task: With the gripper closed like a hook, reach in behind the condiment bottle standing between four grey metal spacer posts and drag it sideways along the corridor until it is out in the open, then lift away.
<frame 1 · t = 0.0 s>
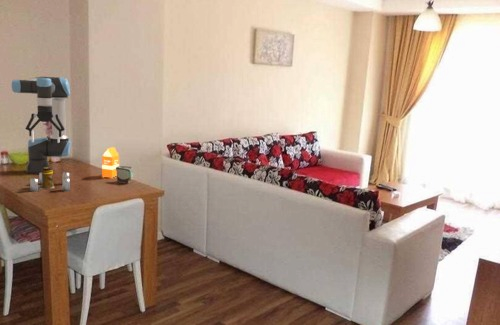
hand: (45, 142, 246), 28 cm above the table, fingers open, 13 cm apart
spacer c: (66, 183, 266), on the table
spacer a: (43, 184, 262), on the table
spacer d: (66, 190, 251), on the table
condiment: (46, 187, 255), on the table
retro television: (125, 182, 280), on the table
orange juice: (110, 176, 292), on the table
spacer b: (34, 190, 246), on the table
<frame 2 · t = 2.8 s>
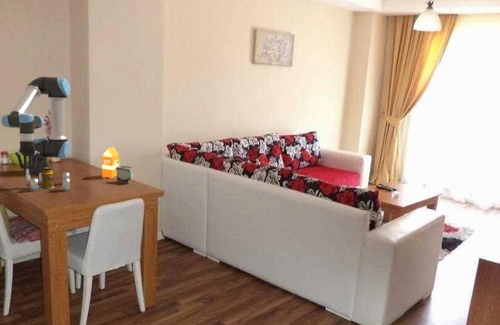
hand: (28, 179, 251), 5 cm above the table, fingers closed
nothing on the table moved.
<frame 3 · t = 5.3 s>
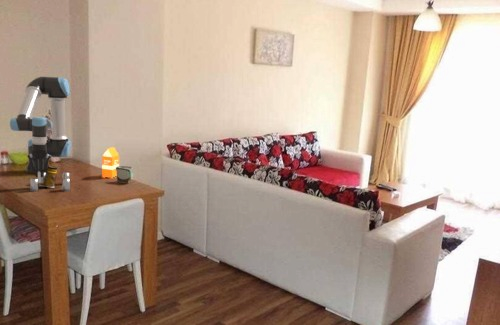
hand: (39, 182, 253), 3 cm above the table, fingers closed
condiment: (46, 185, 255), point 1 cm above the table, touching gripper, hand
everything else where it was.
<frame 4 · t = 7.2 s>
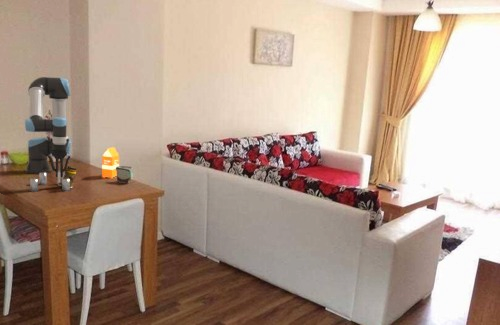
hand: (59, 182, 256), 3 cm above the table, fingers closed
condiment: (65, 185, 257), point 1 cm above the table, touching gripper, hand
everything else where it was.
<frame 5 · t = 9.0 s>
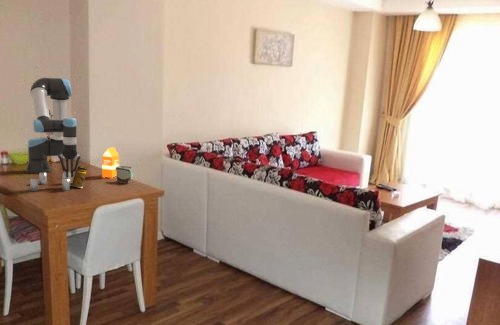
hand: (69, 182, 258), 3 cm above the table, fingers closed
condiment: (75, 185, 259), point 1 cm above the table, touching gripper, hand
everything else where it was.
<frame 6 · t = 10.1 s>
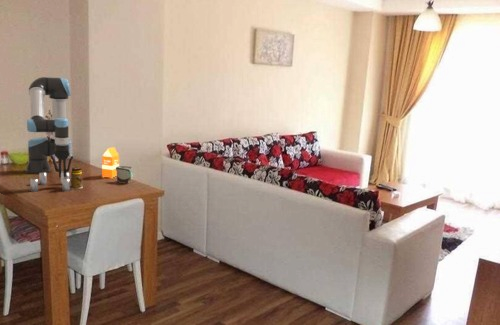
hand: (62, 182, 258), 3 cm above the table, fingers closed
condiment: (75, 187, 259), on the table
everything else where it was.
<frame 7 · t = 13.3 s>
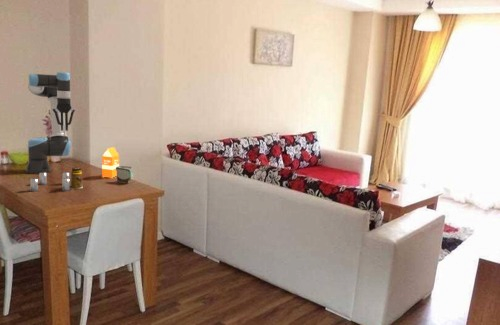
hand: (64, 135, 266), 29 cm above the table, fingers closed
nothing on the table moved.
at the end: condiment inside the target area (5.3 cm from its centre), on the table; condiment tilted 0°; condiment moved 16.3 cm from its start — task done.
